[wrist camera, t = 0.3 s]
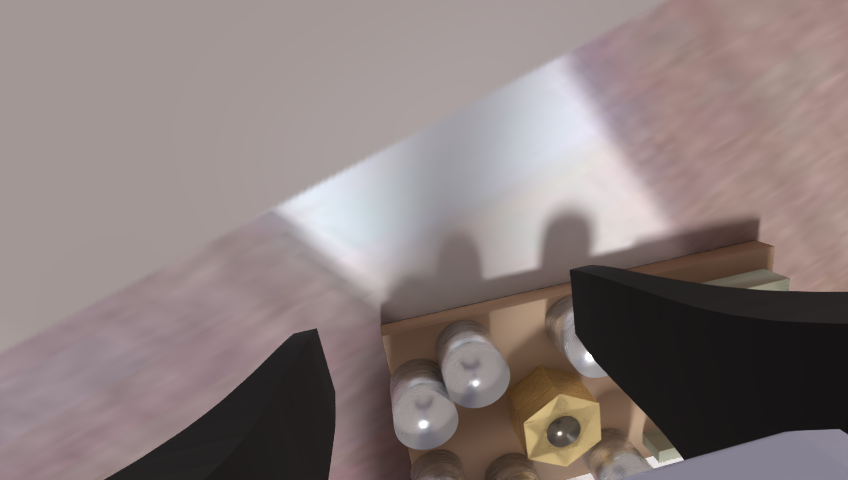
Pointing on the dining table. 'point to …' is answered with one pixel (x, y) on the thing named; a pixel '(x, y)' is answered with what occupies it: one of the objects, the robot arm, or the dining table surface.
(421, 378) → the spacers
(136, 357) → the dining table surface
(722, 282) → the tan tray
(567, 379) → the nut
